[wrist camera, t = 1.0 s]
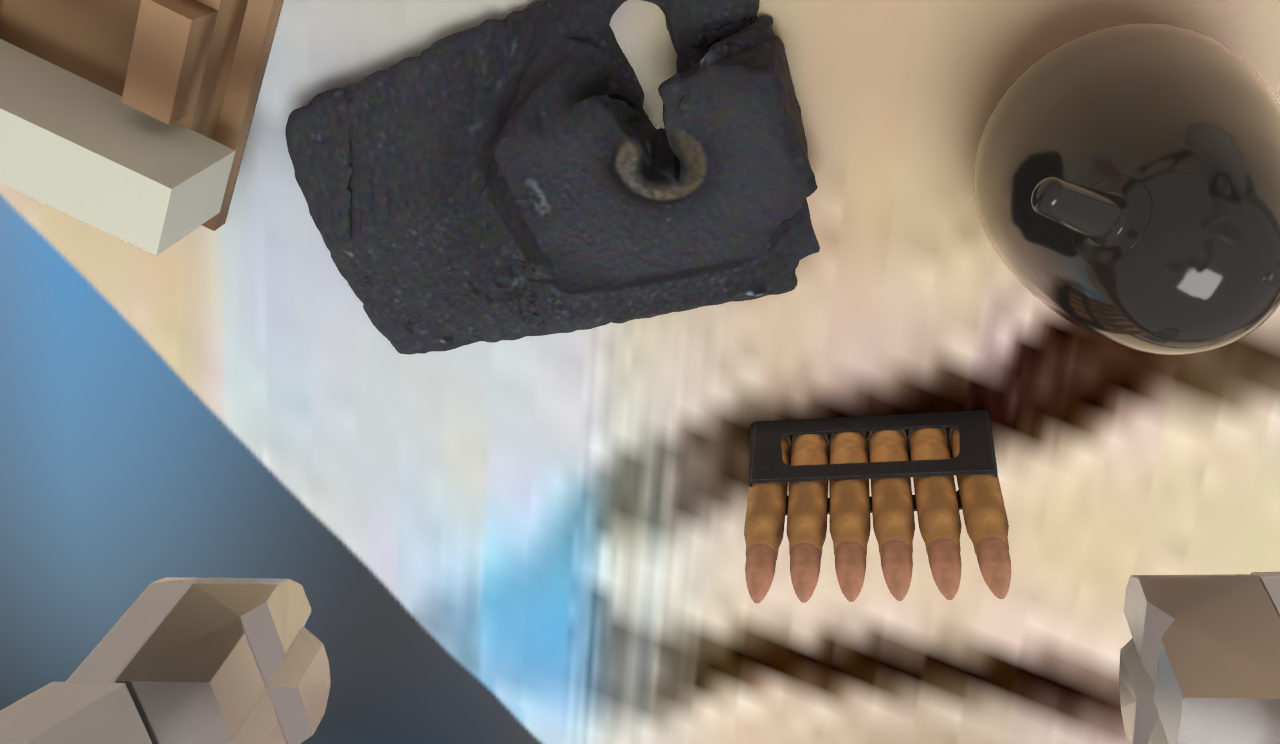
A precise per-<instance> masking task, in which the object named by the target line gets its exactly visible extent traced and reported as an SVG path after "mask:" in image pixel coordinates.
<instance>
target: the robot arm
mask: <svg viewBox="0 0 1280 744" xmlns="http://www.w3.org/2000/svg"><path fill="white" fill-rule="evenodd" d="M310 613H311V608H310V605H309V602H308V600H307V597H306V595H305V592H304V589H303V587H302V585H300V584H298V583H296V582H294V581H292V580H290V579H257V578H205V579H203V578H163V579H160V580H158V581H155V582H152V583H151V584H150V585H149V586H148V587H147V588H146V589H145V591H144V592H143V593H142V594H141V595H140V596H139V597H138V599H137V600H136V601H135V602H134V603H133V604H132V606H131V607H130V608H129V609H128V611H126V613H125V614H124V615H123V616H122V617H121V618H120V619H119V621H118V622H117V623H116V624H115V625H114V626H113V628H112V629H111V630H110V631H109V632H108V633H107V635H106V636H105V637H104V638H103V639H102V640H101V642H100V643H99V644H98V645H97V646H96V647H95V648H94V650H93V651H92V652H91V653H90V654H89V655H88V657H87V658H86V659H85V660H84V661H83V662H82V664H81V665H80V666H79V667H78V668H77V669H76V671H75V672H74V673H73V674H72V675H71V676H70V678H69V679H68V680H67V681H66V682H51V683H49V684H48V685H46V686H44V687H42V688H41V689H39V690H37V691H35V692H33V693H32V694H30V695H28V696H26V697H24V698H22V699H21V700H19V701H17V702H15V703H13V704H12V705H10V706H8V707H6V708H4V709H3V710H1V711H0V744H300V743H301V742H303V741H304V740H306V739H307V738H309V737H310V736H312V735H313V734H314V732H315V731H316V728H317V726H318V725H319V723H320V721H321V719H322V717H323V715H324V713H325V710H326V705H327V700H328V695H329V689H330V671H329V662H328V658H327V655H326V652H325V649H324V646H323V643H322V642H320V641H319V640H318V639H317V638H316V637H315V636H314V635H313V634H311V633H310V632H309V631H308V630H307V629H306V628H305V627H304V625H305V623H306V621H307V618H308V617H309V615H310ZM1124 613H1125V616H1126V619H1127V622H1128V625H1129V628H1130V631H1131V634H1132V637H1133V638H1132V639H1131V640H1130V641H1129V642H1128V643H1127V644H1126V645H1125V646H1124V647H1123V648H1122V649H1121V652H1120V671H1119V686H1120V702H1121V712H1122V717H1123V722H1124V727H1125V732H1126V736H1127V739H1128V743H1129V744H1280V572H1254V573H1251V574H1250V575H1247V574H1235V575H1130V579H1129V582H1128V585H1127V588H1126V596H1125V606H1124Z"/></svg>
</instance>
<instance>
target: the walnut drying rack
mask: <svg viewBox="0 0 1280 744" xmlns="http://www.w3.org/2000/svg"><path fill="white" fill-rule="evenodd" d="M282 4H283V0H0V39H2V40H4V41H6V42H8V43H10V44H12V45H14V46H17V47H19V48H21V49H23V50H25V51H27V52H29V53H31V54H33V55H36V56H38V57H40V58H42V59H44V60H46V61H48V62H50V63H52V64H54V65H57V66H59V67H61V68H63V69H65V70H67V71H69V72H71V73H73V74H75V75H78V76H80V77H82V78H84V79H86V80H88V81H90V82H92V83H94V84H96V85H99V86H101V87H103V88H105V89H107V90H109V91H111V92H113V93H115V94H118V95H120V96H122V100H121V103H124V104H126V105H128V106H130V107H132V108H134V109H136V110H138V111H140V112H143V113H145V114H147V115H149V116H151V117H153V118H155V119H157V120H159V121H161V122H164V123H166V124H168V125H170V124H172V123H174V122H176V123H179V124H181V125H183V126H185V127H187V128H189V129H191V130H193V131H195V132H197V133H200V134H202V135H204V136H206V137H208V138H210V139H212V140H214V141H216V142H218V143H221V144H223V145H225V146H227V147H229V148H231V149H233V150H235V155H234V159H233V163H232V167H231V171H230V174H229V178H228V182H227V186H226V190H225V194H224V198H223V202H222V205H221V209H220V213H218V214H217V215H215V216H214V217H212V218H211V219H209V220H208V221H206V222H205V223H203V224H202V225H203V226H205V227H207V228H209V229H211V230H213V231H215V230H216V229H218V228H219V227H221V226H222V225H223V224H225V221H226V217H227V213H228V209H229V206H230V202H231V198H232V194H233V190H234V187H235V183H236V179H237V175H238V171H239V168H240V164H241V160H242V156H243V152H244V149H245V145H246V141H247V137H248V133H249V129H250V126H251V122H252V118H253V114H254V110H255V107H256V103H257V99H258V95H259V91H260V88H261V84H262V80H263V76H264V72H265V69H266V65H267V61H268V57H269V53H270V49H271V46H272V42H273V38H274V34H275V30H276V27H277V23H278V19H279V15H280V11H281V8H282Z"/></svg>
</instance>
